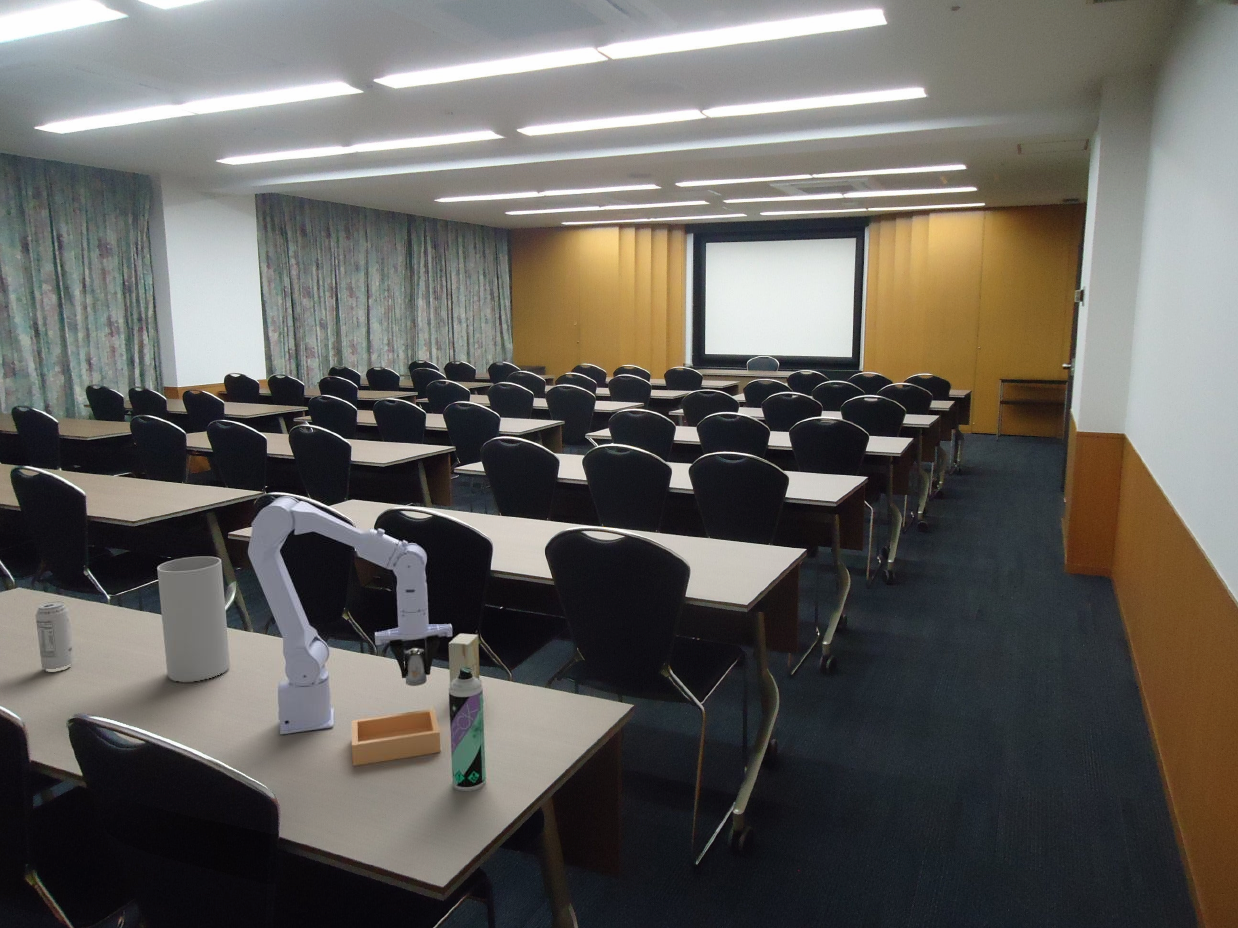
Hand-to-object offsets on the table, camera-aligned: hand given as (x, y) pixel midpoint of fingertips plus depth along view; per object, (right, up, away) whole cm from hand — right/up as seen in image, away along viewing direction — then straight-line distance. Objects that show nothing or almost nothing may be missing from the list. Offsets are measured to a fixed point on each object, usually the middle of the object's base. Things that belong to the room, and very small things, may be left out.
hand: (415, 674), depth 163 cm
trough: (-1, -10, -11) cm, 15 cm away
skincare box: (+8, -7, +11) cm, 15 cm away
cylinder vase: (-54, -6, +23) cm, 59 cm away
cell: (0, -1, 0) cm, 2 cm away
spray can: (+15, -12, -24) cm, 30 cm away
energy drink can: (-88, -5, +26) cm, 91 cm away
